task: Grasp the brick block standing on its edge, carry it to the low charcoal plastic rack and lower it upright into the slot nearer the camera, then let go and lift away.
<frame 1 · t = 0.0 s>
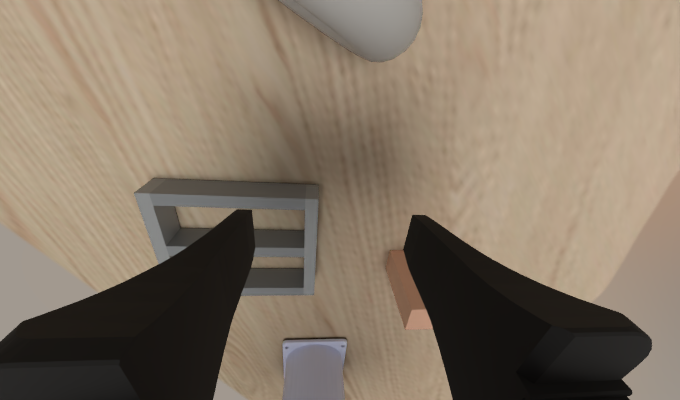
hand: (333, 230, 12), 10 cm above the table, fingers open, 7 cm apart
brick block: (424, 259, 27), on the table
dish rack: (245, 233, 24), on the table
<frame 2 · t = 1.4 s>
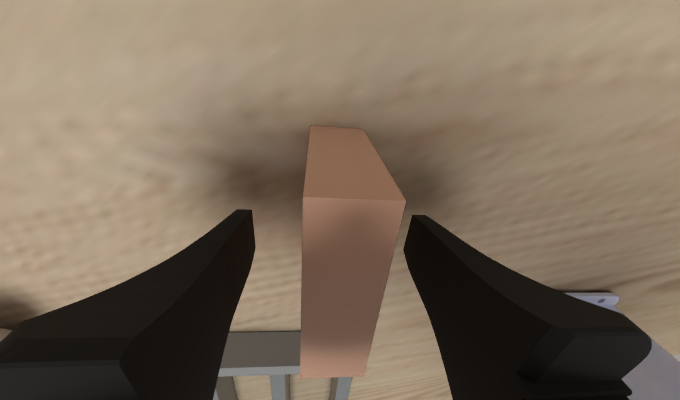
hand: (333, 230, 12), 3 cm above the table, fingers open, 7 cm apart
brick block: (331, 200, 14), on the table
dish rack: (283, 377, 23), on the table
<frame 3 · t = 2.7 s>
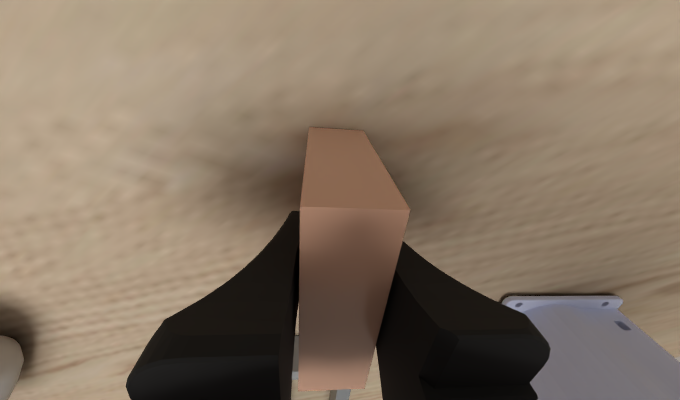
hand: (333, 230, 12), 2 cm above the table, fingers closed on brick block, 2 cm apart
brick block: (330, 203, 14), on the table, touching gripper
donut: (13, 342, 18), on the table
dish rack: (282, 381, 22), on the table
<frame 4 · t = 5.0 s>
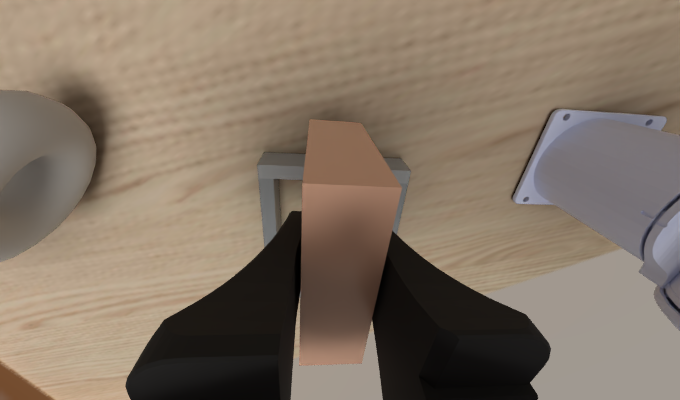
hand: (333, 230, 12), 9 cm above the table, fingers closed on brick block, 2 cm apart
brick block: (330, 193, 14), point 6 cm above the table, touching gripper
donut: (84, 149, 18), on the table
dish rack: (329, 224, 23), on the table
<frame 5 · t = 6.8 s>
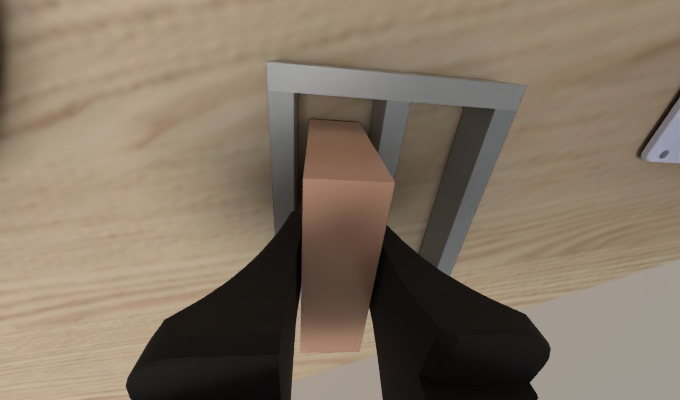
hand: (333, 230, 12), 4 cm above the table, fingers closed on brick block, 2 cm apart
brick block: (329, 191, 15), resting in dish rack, touching gripper
dish rack: (369, 190, 15), on the table
when the fingers open (3 cm above the table, at t = 7.8 s): brick block stays where it is, resting in dish rack.
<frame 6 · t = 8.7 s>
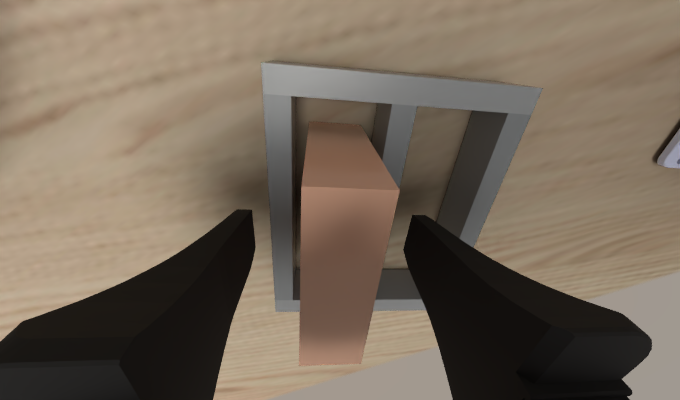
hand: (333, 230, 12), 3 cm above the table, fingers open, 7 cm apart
brick block: (329, 194, 14), resting in dish rack
dish rack: (372, 198, 15), on the table
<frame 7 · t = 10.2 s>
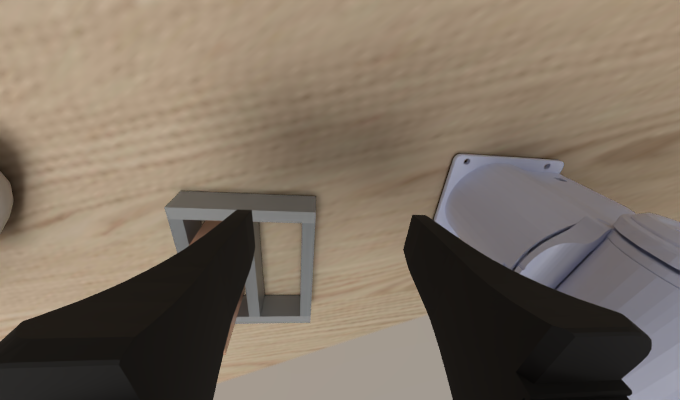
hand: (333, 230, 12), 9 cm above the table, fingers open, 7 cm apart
brick block: (229, 253, 24), resting in dish rack
donut: (4, 187, 19), on the table
dish rack: (255, 254, 24), on the table
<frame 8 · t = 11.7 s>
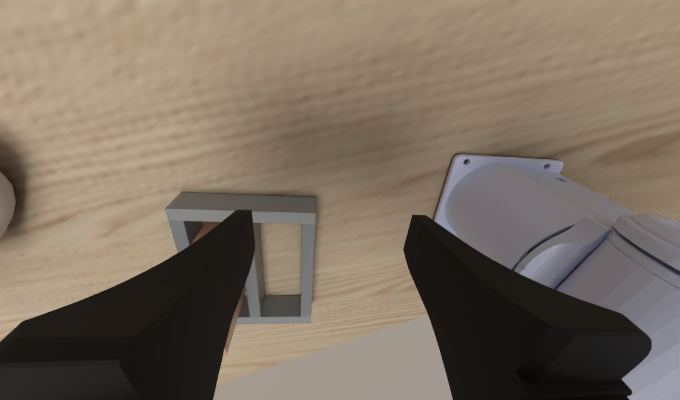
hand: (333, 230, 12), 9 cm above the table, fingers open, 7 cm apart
brick block: (229, 254, 24), resting in dish rack
donut: (6, 189, 19), on the table
dish rack: (256, 255, 24), on the table
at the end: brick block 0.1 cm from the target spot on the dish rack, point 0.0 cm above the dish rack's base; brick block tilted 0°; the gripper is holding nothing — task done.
